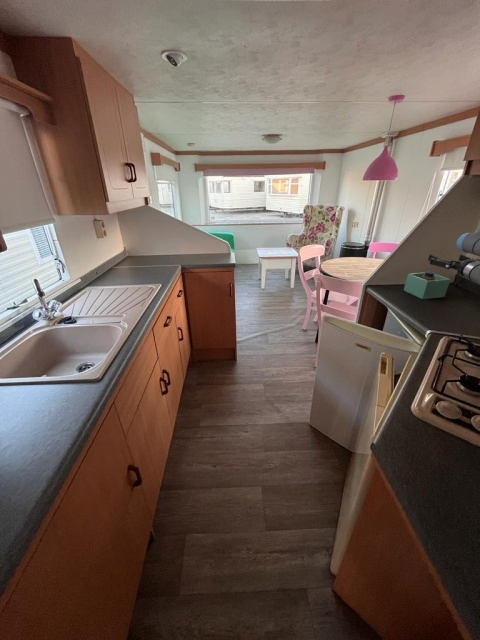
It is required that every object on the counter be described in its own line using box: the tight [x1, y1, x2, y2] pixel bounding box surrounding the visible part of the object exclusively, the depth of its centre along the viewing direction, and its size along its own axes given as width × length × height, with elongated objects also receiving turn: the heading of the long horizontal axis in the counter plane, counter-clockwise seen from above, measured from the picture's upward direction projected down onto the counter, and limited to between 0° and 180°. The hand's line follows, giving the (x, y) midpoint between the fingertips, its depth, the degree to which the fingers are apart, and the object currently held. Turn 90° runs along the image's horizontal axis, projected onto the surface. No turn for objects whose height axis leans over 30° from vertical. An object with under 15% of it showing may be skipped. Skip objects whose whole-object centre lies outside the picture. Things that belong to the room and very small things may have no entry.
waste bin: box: [403, 271, 451, 300], centre depth 144 cm, size 14×14×10 cm
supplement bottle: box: [422, 270, 435, 281], centre depth 143 cm, size 6×6×11 cm
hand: (444, 257), depth 129 cm, fingers open, 13 cm apart
